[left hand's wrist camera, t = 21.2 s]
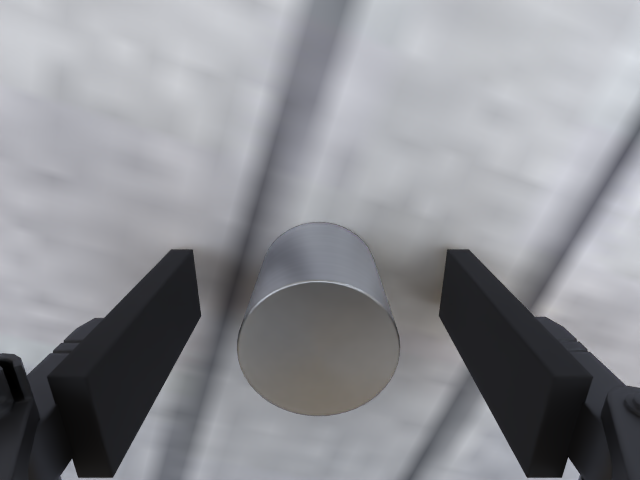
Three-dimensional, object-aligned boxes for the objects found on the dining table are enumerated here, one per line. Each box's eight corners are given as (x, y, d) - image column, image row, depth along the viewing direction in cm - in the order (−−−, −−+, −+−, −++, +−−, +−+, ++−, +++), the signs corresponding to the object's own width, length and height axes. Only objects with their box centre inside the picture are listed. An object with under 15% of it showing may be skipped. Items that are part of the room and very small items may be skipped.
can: (245, 301, 15) (214, 386, 10) (288, 202, 13) (272, 253, 9) (345, 339, 16) (355, 435, 11) (396, 249, 14) (431, 318, 10)
